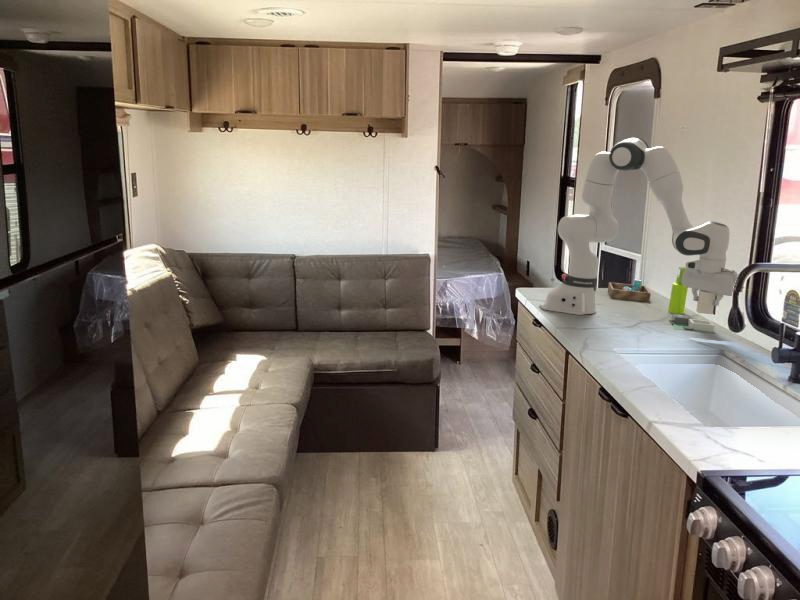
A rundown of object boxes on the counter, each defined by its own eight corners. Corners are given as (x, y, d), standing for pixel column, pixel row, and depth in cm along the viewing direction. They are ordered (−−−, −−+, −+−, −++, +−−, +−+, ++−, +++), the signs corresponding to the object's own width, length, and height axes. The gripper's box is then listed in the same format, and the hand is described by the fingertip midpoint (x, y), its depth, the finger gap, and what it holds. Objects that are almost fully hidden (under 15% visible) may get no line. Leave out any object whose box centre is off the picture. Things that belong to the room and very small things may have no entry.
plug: (697, 312, 239) (701, 291, 237) (696, 310, 242) (699, 289, 241) (714, 314, 237) (718, 293, 235) (712, 312, 241) (716, 291, 239)
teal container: (648, 300, 293) (651, 283, 291) (622, 298, 293) (624, 281, 291) (639, 294, 304) (642, 277, 302) (614, 292, 304) (616, 276, 302)
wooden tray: (610, 297, 292) (612, 289, 291) (607, 290, 307) (608, 282, 306) (649, 301, 288) (650, 293, 287) (644, 294, 304) (645, 285, 303)
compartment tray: (674, 332, 239) (676, 322, 238) (667, 322, 253) (669, 313, 252) (715, 336, 236) (716, 327, 235) (705, 326, 250) (707, 317, 249)
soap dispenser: (687, 317, 263) (695, 269, 258) (669, 316, 264) (677, 268, 259) (683, 314, 268) (691, 267, 264) (666, 312, 269) (673, 265, 265)
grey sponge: (671, 324, 245) (672, 318, 244) (667, 319, 253) (668, 313, 252) (690, 326, 243) (691, 320, 243) (686, 321, 251) (687, 315, 251)
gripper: (743, 270, 229) (737, 308, 232) (692, 261, 246) (686, 297, 249) (733, 271, 226) (727, 309, 229) (681, 262, 243) (676, 298, 246)
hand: (705, 303), depth 239 cm, fingers closed on plug, 6 cm apart
